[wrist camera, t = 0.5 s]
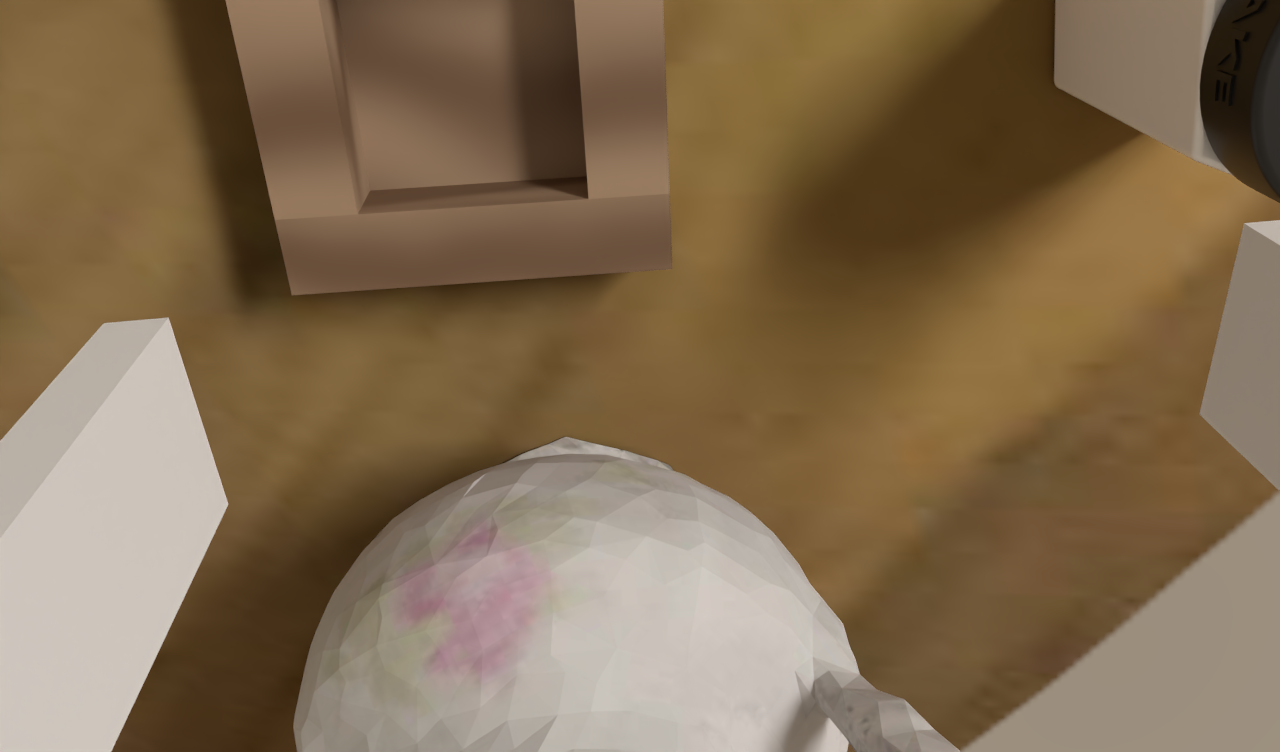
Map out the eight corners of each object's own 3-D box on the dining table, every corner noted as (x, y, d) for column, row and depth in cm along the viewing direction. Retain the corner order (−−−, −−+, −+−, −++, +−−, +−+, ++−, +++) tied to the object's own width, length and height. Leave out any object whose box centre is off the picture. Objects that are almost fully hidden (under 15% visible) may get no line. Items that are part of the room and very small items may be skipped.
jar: (1235, -205, 33) (1559, -219, 22) (1331, 2, 36) (1653, 76, 25) (993, -10, 35) (1181, 62, 24) (1104, 167, 38) (1313, 299, 28)
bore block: (226, -134, 32) (196, -130, 29) (649, -157, 32) (657, -155, 29) (310, 262, 38) (291, 295, 35) (664, 238, 38) (672, 269, 36)
